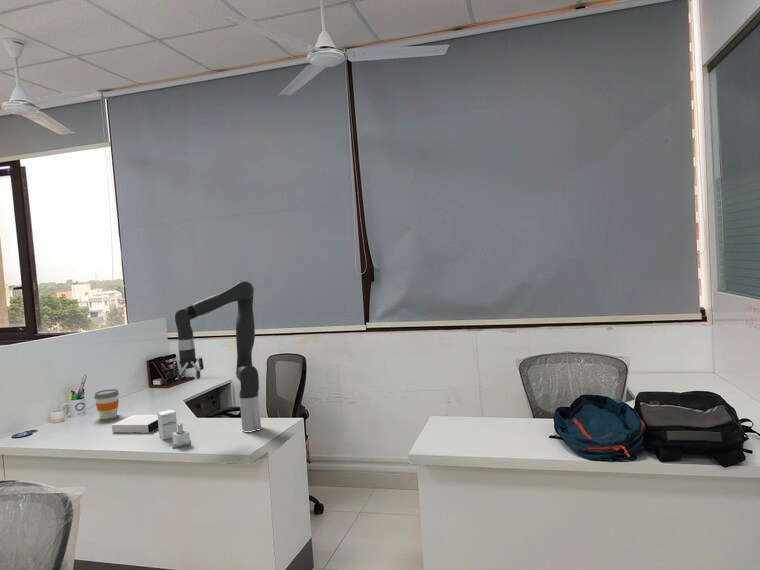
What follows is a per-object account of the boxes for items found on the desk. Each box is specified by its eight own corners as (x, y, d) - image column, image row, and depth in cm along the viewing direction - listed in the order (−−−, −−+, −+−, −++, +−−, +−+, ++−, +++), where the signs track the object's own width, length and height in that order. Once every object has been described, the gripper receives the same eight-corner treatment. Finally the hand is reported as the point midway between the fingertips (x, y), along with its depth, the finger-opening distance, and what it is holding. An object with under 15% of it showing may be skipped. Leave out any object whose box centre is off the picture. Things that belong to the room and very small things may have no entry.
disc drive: (150, 433, 271) (149, 424, 271) (112, 433, 276) (111, 424, 275) (170, 423, 288) (169, 414, 288) (134, 423, 293) (133, 414, 293)
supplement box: (162, 440, 258) (160, 415, 257) (159, 436, 264) (156, 412, 263) (178, 436, 262) (176, 411, 261) (174, 433, 268) (172, 408, 267)
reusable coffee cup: (124, 413, 313) (122, 388, 312) (112, 419, 301) (109, 394, 300) (105, 414, 314) (102, 389, 314) (91, 420, 302) (89, 394, 301)
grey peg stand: (190, 441, 253) (188, 421, 252) (188, 446, 246) (186, 425, 246) (175, 443, 252) (173, 423, 251) (172, 448, 245) (170, 427, 244)
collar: (190, 442, 248) (189, 432, 248) (177, 446, 245) (176, 435, 244) (185, 439, 253) (184, 429, 253) (172, 443, 249) (172, 432, 249)
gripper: (175, 351, 252) (178, 384, 252) (203, 346, 261) (206, 378, 262) (169, 349, 257) (172, 382, 258) (197, 345, 267) (200, 376, 267)
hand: (189, 380), depth 260 cm, fingers open, 8 cm apart
